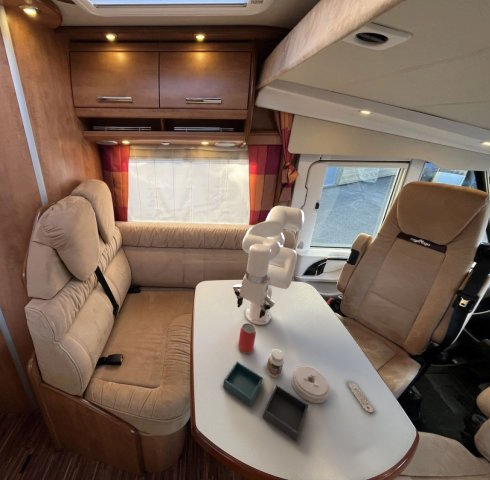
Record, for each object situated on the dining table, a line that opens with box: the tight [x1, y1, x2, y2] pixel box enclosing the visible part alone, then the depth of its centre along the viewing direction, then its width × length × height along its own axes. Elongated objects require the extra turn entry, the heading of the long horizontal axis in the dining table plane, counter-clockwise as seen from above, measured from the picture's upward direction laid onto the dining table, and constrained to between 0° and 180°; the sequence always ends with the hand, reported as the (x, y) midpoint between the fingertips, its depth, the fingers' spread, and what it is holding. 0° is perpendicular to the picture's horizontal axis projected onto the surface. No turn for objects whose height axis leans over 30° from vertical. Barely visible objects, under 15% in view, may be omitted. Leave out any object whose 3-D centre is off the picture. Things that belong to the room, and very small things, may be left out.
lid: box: [290, 365, 331, 404], centre depth 88 cm, size 13×13×5 cm
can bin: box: [262, 384, 309, 443], centre depth 80 cm, size 11×11×4 cm
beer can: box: [237, 323, 257, 354], centre depth 103 cm, size 7×7×12 cm
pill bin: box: [222, 361, 264, 407], centre depth 89 cm, size 10×11×4 cm
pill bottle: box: [266, 348, 285, 378], centre depth 93 cm, size 6×6×10 cm
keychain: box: [348, 382, 374, 413], centre depth 86 cm, size 10×1×3 cm
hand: (250, 310), depth 96 cm, fingers open, 9 cm apart
